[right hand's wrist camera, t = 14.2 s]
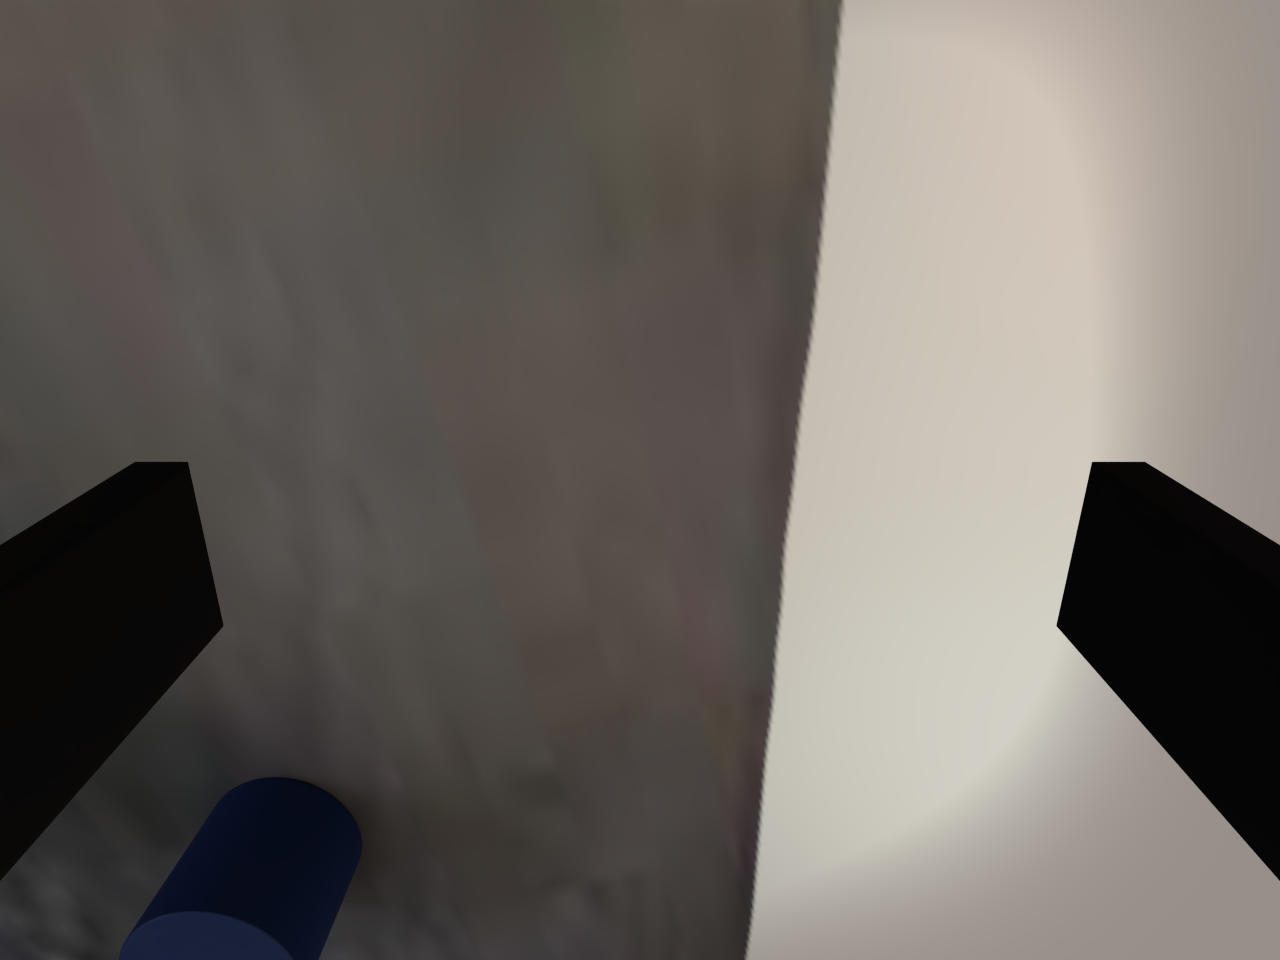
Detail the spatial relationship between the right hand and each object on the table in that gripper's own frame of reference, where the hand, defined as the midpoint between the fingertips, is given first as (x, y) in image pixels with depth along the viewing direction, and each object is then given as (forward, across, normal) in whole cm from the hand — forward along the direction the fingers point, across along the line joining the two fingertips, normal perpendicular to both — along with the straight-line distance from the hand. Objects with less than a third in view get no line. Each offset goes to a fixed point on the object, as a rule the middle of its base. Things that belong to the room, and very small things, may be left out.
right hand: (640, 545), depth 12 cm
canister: (+19, -17, -25) cm, 35 cm away
